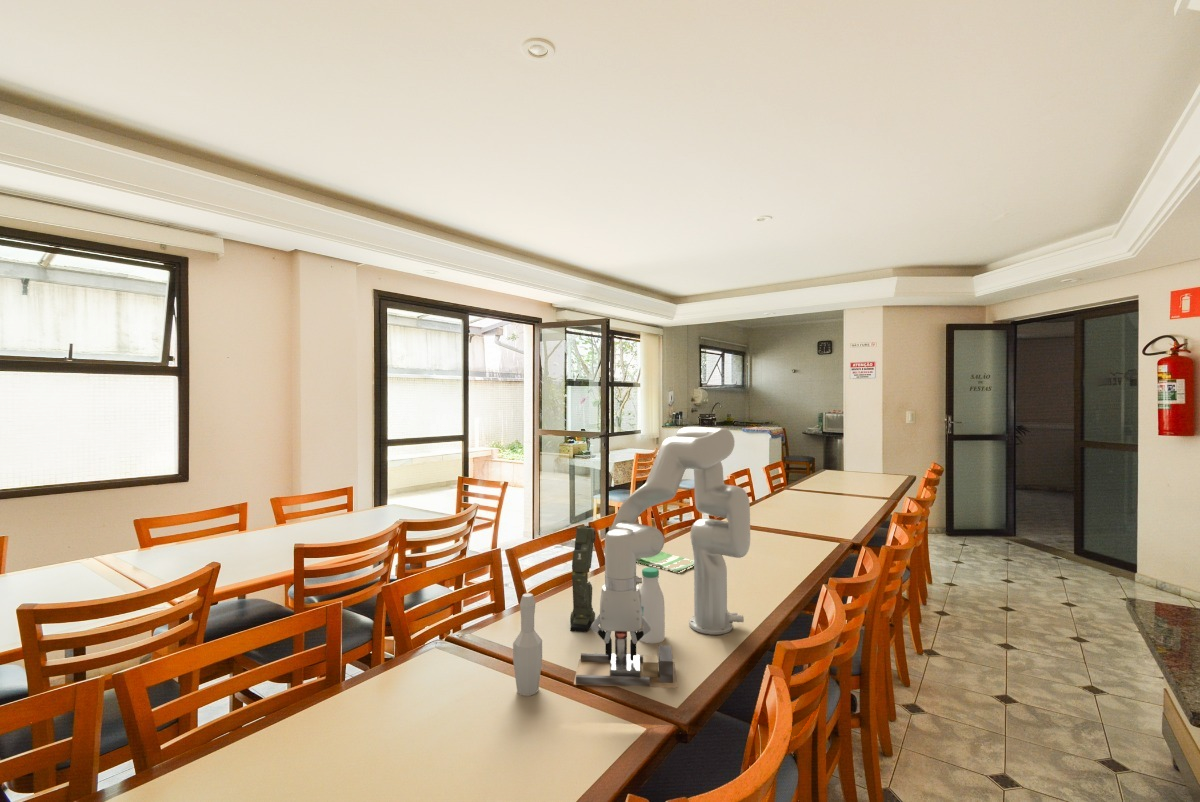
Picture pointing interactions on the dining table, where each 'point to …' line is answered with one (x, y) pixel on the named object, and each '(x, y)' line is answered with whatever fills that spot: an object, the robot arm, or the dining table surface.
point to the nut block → (650, 666)
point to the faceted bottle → (527, 650)
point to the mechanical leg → (582, 580)
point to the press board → (598, 673)
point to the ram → (623, 658)
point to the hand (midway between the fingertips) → (620, 656)
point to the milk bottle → (652, 606)
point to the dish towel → (663, 556)
